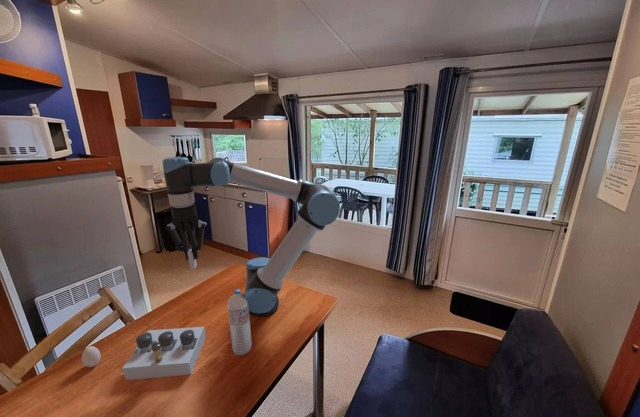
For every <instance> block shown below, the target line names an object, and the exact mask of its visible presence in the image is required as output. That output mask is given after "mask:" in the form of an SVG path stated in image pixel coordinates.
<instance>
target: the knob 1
mask: <svg viewBox="0 0 640 417" xmlns="http://www.w3.org/2000/svg"><path fill="white" fill-rule="evenodd" d="M152 341H153V340H152V335H151V333H147V332H144V333H141V334H140V335H138V336H137V337H136V339H135V343H136V348H137V347H138V348H141V352H142V353H148V352H151V350H152V349H151V343H152Z"/></svg>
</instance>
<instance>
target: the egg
mask: <svg viewBox="0 0 640 417" xmlns="http://www.w3.org/2000/svg"><path fill="white" fill-rule="evenodd" d="M100 360H101V352H100V350H99V349H98V348H97V347H96V346H92V345H91V346H88V347H86V348H85V349H84V350H83V352H82V354H81V362H82V364H83V366H85V367H87V368H92V367H95V366H96V365H97V364H98V363H99V362H100Z"/></svg>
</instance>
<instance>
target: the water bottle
mask: <svg viewBox="0 0 640 417" xmlns="http://www.w3.org/2000/svg"><path fill="white" fill-rule="evenodd" d="M233 293H234V294H232V295H231V296H230V297H229V299H228V301H227V307H228V315H229V316H228V317H229V328H230V337H231V346H232V347H231V348H232V352H233V354H234V355H236V356H245V355H247V354H248V353H249V352H250V351H251V349H252V344H253V342H252V331H251V318H250V314H249V307H248V303H249V302H248V298H247V296H245V295H244V293H242V292H241V290H240V289H239V288H237V289H235V290H234V291H233Z"/></svg>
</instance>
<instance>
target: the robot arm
mask: <svg viewBox="0 0 640 417" xmlns="http://www.w3.org/2000/svg"><path fill="white" fill-rule="evenodd" d="M162 170H163V172H162V174H163V176H164V181H165V187H166V191H167V196H168V197H167V198H168V203H169V206H170V212H171V213H170V214H171V217H172V218H171V219H172V220H171V223H168V224H167V225H166V226H165V230H166V231H167V232H168V233H169V235H170V236H171V238H172V241H173V242H174V246H175V248H176V249H177V251H178V252H184V256H185V260H186V261H188V263H189V269H190V270H195V269H196V268H197V265H198V263H197V260H198V258H199V250H200V251H201V249H202V247H203V244H204V236H205V235H204V234H205V228H206V226H207V225H208V223H207V221H202V220H201V219H200V218H199V216H198V210H197V206H196V203H195V202H196V201H195V199H196V198H195V193H194V192H195V191H194V187H215V186H216V187H221V186H227V185H229V184H230V183H231V184H235V185H239V186H243V187H246V188H250V189H253V190H256V191H257V190H258V191H260V192H261V191H262V192H264V193H268V194H273V195H277V196H281V197H284V198H288V199H291V200H292V201H293V203H297V204H299V205H301V206H300V208H299V209H298V210H297V212H296V216H297V219H296V220H295V222H294V223H293V224H292V226H291V228H290V229H289V230H288V232H287V233H286V235H285V236H284V238H283V239H282V241H281V242H280V244H279V245H278V247H277V248H276V250H275V251H274V252H273V254H272V255H271V257H270V258H269V257H265V256H262V257H261V256H260V257H256V258H252V259H250V260H248V261H247V262H246V267H245V269H246V278H245V279H246V280H245V286H244V288H245V289H244V292H243V294H244V295H245V296H247V298H248V302H249V303H248V307H249V316H250V315H251V316H252V317H260V318H261V317H266V316H270V315H271V314H273V313H274V312H276V311H277V310H278V309H279V306H280V299H279V298H280V297H279V295H278V294H279V292H280V291H281V289H282V288H283V286H284V282H283V280H284V279H285V277H286V275H287V274H288V273H289V271H290V270H291V268H293V266H294V265H295V263H296V262H297V260H298V259H299V257H300V256H301V254H302V253H303V252H304V251H305V249H306V247H307V246H308V245H309V244H310V242H311V241H312V239H313V237H314V236H315V235H316V233H317V232H321V231H323V230H324V229H325V228H326V226H328V225H331V224H333V223H334V222H335V221H336V220H337V218H338V217H339V215H340V210H341V206H340V202H339V199H338V196H336V194H335V193H334V192H332V191H331V190H330V189H329V188H328V187H327V186H326V185H324V184H321V183H318V182H313V181H309V180H308V181H307V180H305V179H304V180H303V179H298V180H294V179H291V178H288V177H284V176H281V175H277V174H274V173H271V172H266V171H264V170H260V169H256V168H252V167H250V166H246V165H242V164H238V163H235V162H231V161H228V160H226V159H225V158H223V157H214V158H212V159H210V160H209V161H208V162H202V163H201V162H200V163H199V162H198V163H192V162H190V161H189V158H188V157H186V156H174V157H165V158H164V159H163V160H162ZM197 225H198V226H197ZM196 227H198V228H199V230H198V236H196ZM178 231H179V232H178ZM179 234H180V235H179ZM180 237H181V238H180ZM196 237H197V238H196Z"/></svg>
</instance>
